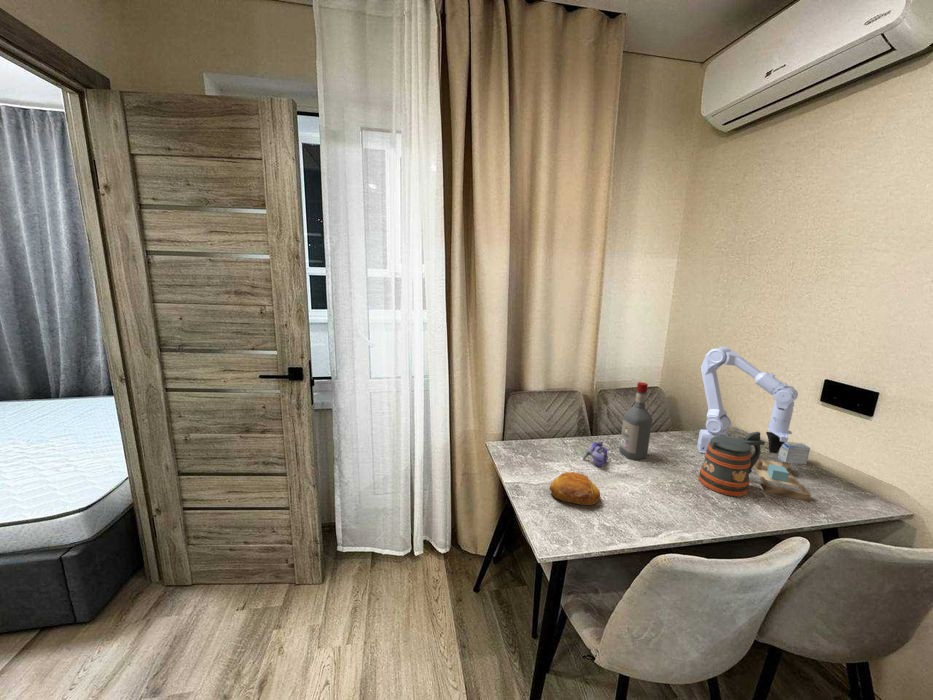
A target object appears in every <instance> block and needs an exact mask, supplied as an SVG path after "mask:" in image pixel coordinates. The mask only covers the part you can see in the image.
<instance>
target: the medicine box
mask: <svg viewBox="0 0 933 700" xmlns="http://www.w3.org/2000/svg"><path fill="white" fill-rule="evenodd" d="M810 451H811V447H810V446H808V445H806V444H804V443H802V442H795V441H794V442H793V441H792V442H790V441H787V442H785V443H784V444H783V445H782V446H781V448H780V449H779V451H778V456H777V459H779V460H780V461H781V462H782V463H783V462H787V463H788V464H795V465H808V464H807V462H808V459H809V456H810Z"/></svg>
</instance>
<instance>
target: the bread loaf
mask: <svg viewBox="0 0 933 700" xmlns="http://www.w3.org/2000/svg"><path fill="white" fill-rule="evenodd" d="M549 491H550V492H551V495H552V496H553V497H554V498H555V499H558V500H560V501H564V502H568V503H571V504H575V505H576V504H577V505H583V506H591V505H595V504H597V503H598V501H600V499H601V491H600V489H599V488H598V487H597V485H596V484H595V483H593V482H592V481H591V479H590V478H589V477H588V476H587V475H585V474H583V473H578V472H572V471H571V472H570V471H567V472H564V473H561V474H560V475H558V476H557V478H555V479H554V480H553V481H552V482H551V483H550V485H549Z"/></svg>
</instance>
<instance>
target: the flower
mask: <svg viewBox="0 0 933 700" xmlns="http://www.w3.org/2000/svg"><path fill="white" fill-rule="evenodd" d="M603 443H604V441H599V442H597V441H594V442H593V443H592V445H591V446H590V447H589V448H588V450H587V451H586V452H585V453H584V455H583V457H582V460H583V461H585V460H586V458H587V457H588V456H591V459H592V462H593V464H594V465H595V466H597V467H599V468H603V466H604V467H605V466H606V465H608V460H609V456H608V452H609V451H608V449H607V447H605V446H604V444H603Z"/></svg>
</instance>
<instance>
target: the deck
mask: <svg viewBox="0 0 933 700" xmlns="http://www.w3.org/2000/svg"><path fill="white" fill-rule="evenodd" d="M769 464H771V465H777V466H782V467H785V469H786V470H787V471H788V473H789V476H788V480H787V482H783V481H778V480H773V479H771V478H770V476H769V475H768V473H767V471H768V467H769ZM789 464H790V463H787V462H783V461H782V462H779V461H773V460H770V459H769V460H767V459H762V458H760V457H759V458H758V460H757V462H756V463H755V464H754V466H753V467H752V468H753V470H754V471H755V473H756V475H757V477H758V478H759V479H760V481H761V483H759V484H760V486H761V488H762V489H763V491H764V493H765V494H766V493H767V494H770V495H775V496H778V497H779V496H780V497H785V498H790V499H793V500H794V499H795V500H799V501H804V502H808V503H809V502H810V500H811V496H812V495H811V493H810V492H809V491H808V490H807V489H806V487H805V486H804V485H803V484H800V483H799V481H798V480H797V479H796V477H795V476H794V475H793V473H791V472H792V466H791V465H789ZM768 481H769V482H774V483H779V484H783V485H789V486H794V487H798V488H799V490H800V491H798V490H793V489H788V488H784V487H779V486H774V485H770V484H769V482H768Z"/></svg>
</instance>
